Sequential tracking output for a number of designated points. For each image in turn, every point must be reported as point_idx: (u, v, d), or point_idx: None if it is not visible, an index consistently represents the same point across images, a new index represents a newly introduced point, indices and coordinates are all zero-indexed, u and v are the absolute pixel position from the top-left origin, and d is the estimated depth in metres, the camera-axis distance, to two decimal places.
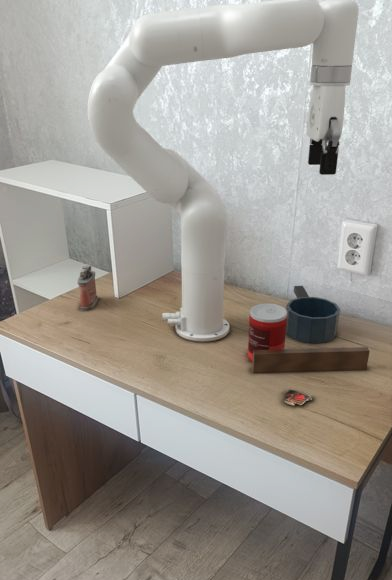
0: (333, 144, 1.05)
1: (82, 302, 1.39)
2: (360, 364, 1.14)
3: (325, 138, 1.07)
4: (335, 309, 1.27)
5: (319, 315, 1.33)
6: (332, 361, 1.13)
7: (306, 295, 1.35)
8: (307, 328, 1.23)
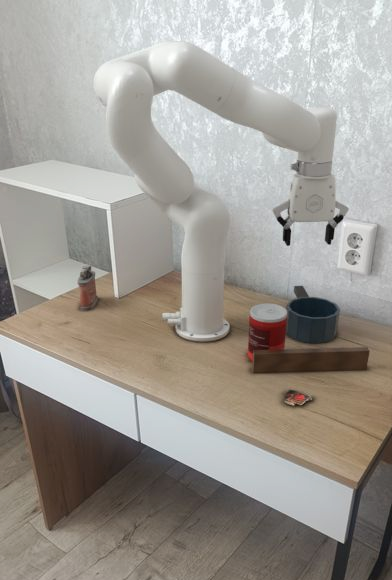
0: None
1: (82, 302, 1.39)
2: (360, 364, 1.14)
3: None
4: (335, 309, 1.27)
5: (319, 315, 1.33)
6: (332, 361, 1.13)
7: (306, 295, 1.35)
8: (307, 328, 1.23)
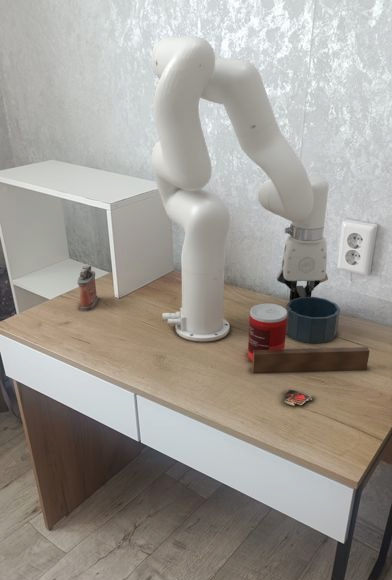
0: None
1: (82, 302, 1.39)
2: (360, 364, 1.14)
3: None
4: (335, 309, 1.27)
5: (319, 315, 1.33)
6: (332, 361, 1.13)
7: (306, 295, 1.35)
8: (307, 328, 1.23)
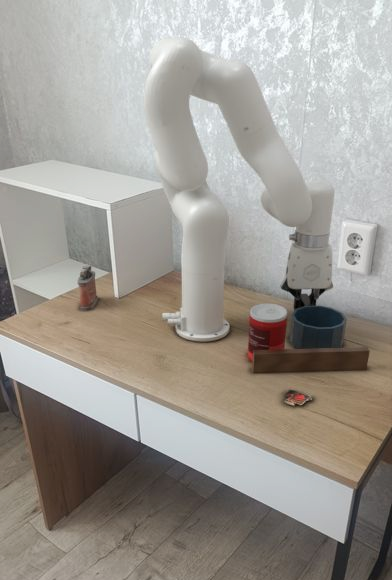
0: None
1: (82, 302, 1.39)
2: (360, 364, 1.14)
3: None
4: (342, 318, 1.23)
5: (325, 324, 1.28)
6: (332, 361, 1.13)
7: (311, 303, 1.30)
8: (313, 338, 1.19)
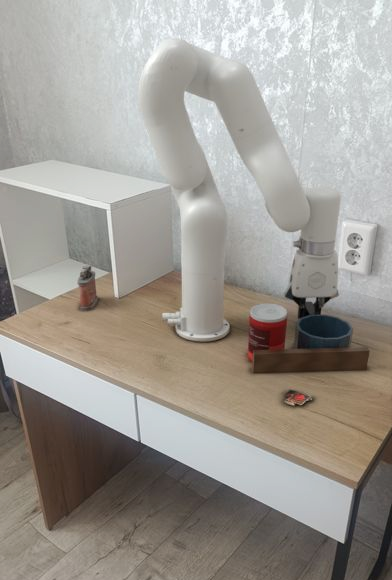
0: None
1: (82, 302, 1.39)
2: (360, 364, 1.14)
3: None
4: (348, 328, 1.19)
5: (330, 334, 1.24)
6: (332, 361, 1.13)
7: (316, 312, 1.26)
8: None
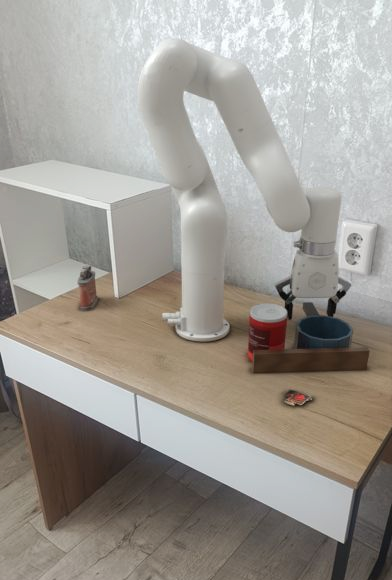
0: None
1: (82, 302, 1.39)
2: (360, 364, 1.14)
3: None
4: (348, 329, 1.18)
5: (330, 335, 1.24)
6: (332, 361, 1.13)
7: (316, 313, 1.26)
8: None
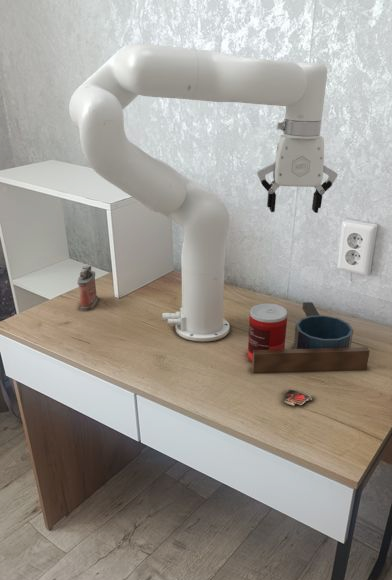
0: None
1: (82, 302, 1.39)
2: (360, 364, 1.14)
3: None
4: (348, 329, 1.18)
5: (330, 335, 1.24)
6: (332, 361, 1.13)
7: (316, 313, 1.26)
8: None
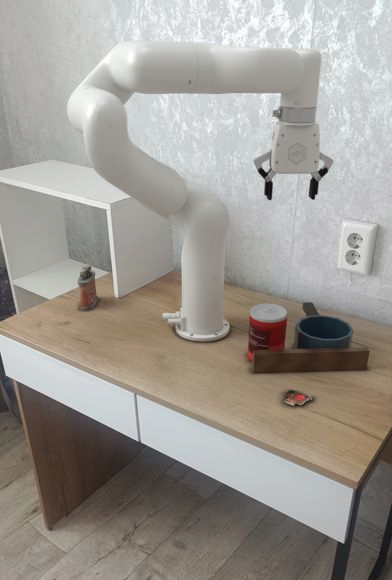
0: None
1: (82, 302, 1.39)
2: (360, 364, 1.14)
3: None
4: (348, 329, 1.18)
5: (330, 335, 1.24)
6: (332, 361, 1.13)
7: (316, 313, 1.26)
8: None
